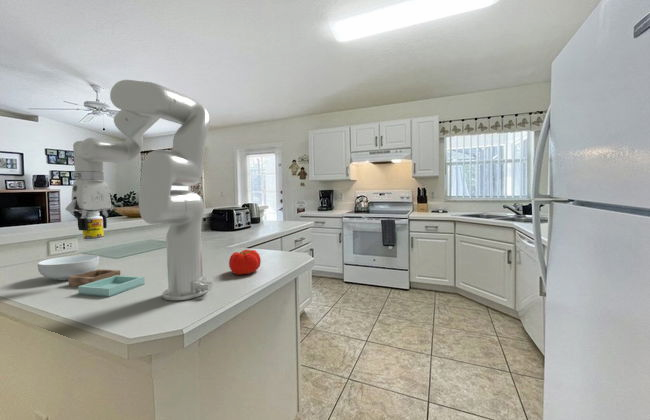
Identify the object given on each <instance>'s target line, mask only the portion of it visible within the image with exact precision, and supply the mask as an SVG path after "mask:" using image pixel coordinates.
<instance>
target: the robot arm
mask: <svg viewBox="0 0 650 420" xmlns="http://www.w3.org/2000/svg"><path fill="white" fill-rule="evenodd" d="M109 93H110V94H109V98H110V101H111V103H112V105H113V106H114V107H115V108H116V109H119V111H118V112H117V113H116V114H115V115H114V117H113V123H114V125H115V127H116V129H117V130H119V132H121V133H122V135H124V136H126V137H127V138H126V139H125V140H124V141H121V142H120V141H114V140H110V139H103V138H98V137H87V138H85V139H83V140H78V141H77V140H76V141H75V142H74V143H73V145H72V147H73V162H74V163H73V164H74V172H73V173H71V177H72V178H74V181H72V188H71V202H70V203H69V204H68V205H67V206H66V207H65V210H66V211H67V212H68V213H69V214H71V215H72V216H74V218H75V219H77V228H78V230H79V231H83V230H88V223H87V218H85V217H86V213H87V211H99V213H100V215H99V216H102V217H103V229H106V228H107V227H108V226H107V225H108V223H107V217H109V214H110V213H111V212H112V211H113V210H114V208H115V205H114V204H112V201H111V199H112V198H111V195H110V194H111V193H110V189H109V184H108V183H107V182H106V181H105V175H104V163H111V164H112V163H113V164H122V165H123V164H127V163H129V162H131V161H133V160H134V159H135V158H136V157H138V156H139V155H140V154H141V152H142V150H143V146H144V137H143V135H144V134H145V133H146V132H147V131H148V130H149V129H151V128H152V126H154V125H155V124H156V123H157V122H158V121H160V119H161V120H165V121H168V122H172V123H176V124H179V125H180V127H178V128H177V130H176V131H175V133H174V135H173V139H172V148H171V150H168V149H167V150H165V149H155V150H152V151H150V152H149V153H148V154H147V155H146V156H145V158H144V160H143V162H142V167H141V171H140V184H139V194H138V196H139V198H138V211H139V214H140V217H141V218H142V220H143V221H144V222H146V223H147V224H148V225H153V226H154V225H169V224H170V226H169V227H168V230H167V232H166V238H165V242H166V244H165V245H166V265H167V266H166V269H167V285H168V288H167V289H165V290H164V291H163V292H162V298H163V299H164V300H167V301H174V302H175V301H185V300H190V299H195V298H198V297H201V296H203V295H205V294H207V293H208V291H211V290H212V289H213V285H214V282H213V281H207V276H204V275H203V274H204V273H203V271H204V270H203V266H204V265H203V247H202V241H203V240H202V239H203V238H202V226H203V225H202V224H203V223H202V222H203V216H204V212H205V211H204V209H205V204H204V203H205V202H204V201H203V199H202V197H201V196H200V195H199V194H198V193H196V192H194V191H191V190H186V189H185V190H183V189H172V186H173V187H175V186H176V187H193V186H197V185H198V184H199V183H200V182H201V180H202V176H203V170H204V160H205V151H206V143H207V138H208V133H209V130H210V122H211V121H210V115H209V112H208V111H207V109H206V108H205V106H203V104H202V103H199V101H196V100H195V99H193V98H191V97H189V96H187V95H184V94H182V93H180V92H178V91H174V90H173V89H170V88H168V87H166V86H163V85H161V84H158V83H155V82H152V81H151V82H150V81H144V80H143V81H142V80H133V79H122V80H119V81H118V82H116V83H115V84H114V85H113V86H112V87H111V90H110V92H109Z"/></svg>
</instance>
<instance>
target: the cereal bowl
mask: <svg viewBox="0 0 650 420" xmlns="http://www.w3.org/2000/svg"><path fill="white" fill-rule="evenodd" d="M99 263H100V257H99V255H98V254H96V255H95V254H83V255H81V254H80V255H70V256H61V257H60V256H58V257H54V258H48V259H45V260H42V261H38V262H37V270H38V273H39V274H40V275H41V276H43V277H45V278H48V279H53V280H54V279H55V280H56V281H69V279H68V277H70V276H74V275H78V274H82V273H86V272H90V271H94V270H96V269H97V268H98V266H99Z"/></svg>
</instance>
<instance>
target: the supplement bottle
mask: <svg viewBox="0 0 650 420" xmlns="http://www.w3.org/2000/svg"><path fill="white" fill-rule="evenodd" d="M99 215H100V213H99V211H97V210H87V213H86V216H85V218H87V223H88V230H82V240H83V241H84V242H93V241H100V240H103V239H104V238H105V236H104V235H105V234H104V228H103V217H102V216H99Z"/></svg>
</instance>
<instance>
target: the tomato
mask: <svg viewBox="0 0 650 420" xmlns="http://www.w3.org/2000/svg"><path fill="white" fill-rule="evenodd" d="M261 261H262V260H261V255H260V254H259V252H258V251H256V250H255V249H244V250H242V251H235V252H233V253H232V254H231V256H230V257H229V260H228V267H229V269H230V270H231V272H232V273H233V274H235V275H238V276H242V275H250V274H252V273H253V272H255V271H257V270H258V269H259V268H260V267H261V263H262V262H261Z"/></svg>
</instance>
